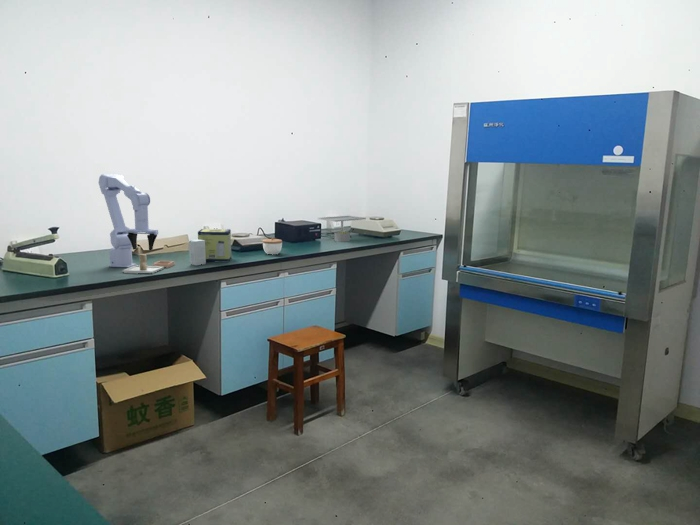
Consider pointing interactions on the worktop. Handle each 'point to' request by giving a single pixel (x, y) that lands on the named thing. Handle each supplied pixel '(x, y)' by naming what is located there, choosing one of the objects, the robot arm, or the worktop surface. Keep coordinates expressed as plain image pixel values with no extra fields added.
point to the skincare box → (197, 252)
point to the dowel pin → (143, 262)
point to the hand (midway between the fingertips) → (142, 249)
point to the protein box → (216, 244)
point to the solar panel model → (342, 235)
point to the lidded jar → (272, 246)
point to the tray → (137, 270)
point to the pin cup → (164, 263)
